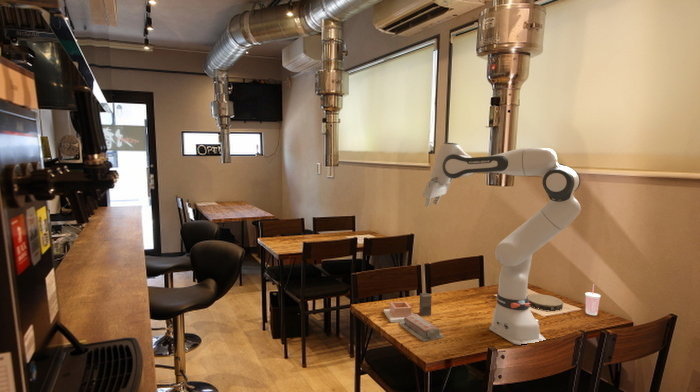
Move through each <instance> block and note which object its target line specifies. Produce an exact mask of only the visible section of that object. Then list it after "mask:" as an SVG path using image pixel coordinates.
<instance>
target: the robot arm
mask: <svg viewBox="0 0 700 392" xmlns="http://www.w3.org/2000/svg"><path fill="white" fill-rule="evenodd" d="M475 173H477V174H478V173H495V174H502V175H505V176H506V175H507V176H514V177H515V176H516V177H528V176H529V177H530V176H533V177H534V176H536V177H537V176H538V177H542V181H541V183H542V187H543V189H544V191H545V193H546V194H547V196H548V198H549V201H548V202H547V203H546V204H545V205H544V206H543V207H541V208H540V209H539V210H538V211H537V212H536V213H534V214H533V215H532V216H531V217H530V218H528V219H527V220H526V221H525V222H524V223H523V224H521V225H520V226H518V227H517V228H516V229H514V230H513V231H512V232H511V233H510V234H508V235H507V236H506V237H505V238H503V239H502V240H500V242H499V243H498V244H497V246H496V247H495V250H494V256H495V259H496V261H498V263H499V264H501V270H500V273H499V275H498V291H497V294H496V303H497V304H496V306H495V308H494V310H493V315H492V321H491V325H490V326H489V327H488V328H489V331H492V332H493V333H494V334H497V335H499V336H500V337H501V338H504V339H505V340H506V341H509V342H510V343H511V344H513V345H518V346H519V345H520V346H522V345H521V344H527V343H535V342H539V341H543V340H546V341H547V339H546V338H545V337H544V336H543V335H542V334H541V333H540V322H539V319H536V318H535V317H534V315H533V313H532V311H531V309H530V307H531V306H530V305H529V304H531V303H529V301H528V297H527V296H528V284H529V276H530V275H529V274H530V270H531V265H532V260H533V254H534V253H536V252H537V251H538V250H539V249H541V248H542V247H544V246H545V245H546V244H547V243H549V242H550V241H551V240H552V239H554V238H556V236H557V235H559V234H560V233H561V232H563V231H564V230H565V229H566V228H568V227H569V226H570V225H571V224H572V223H573V222H574V221H575V220H576V218H577V217H578V216H579V215H580V214H581V211H582V206H581V204H580V202H579V200H577V199H576V198H575V195H574V193H575V192H576V191H577V190H578V189H579V187H580V186H581V185H580V184H581V177H580V174H579V173H578V171H576V169H574V168H571V167H570V166H567V165H565V164H563V163H559V161H558V156H557V154H556V151H554V150H553V149H551V148H546V147H545V148H544V147H522V148H518V149H517V148H516V149H512V150H507V151H505V152H504V151H503V152H501V153H497V154H493V155H488V156H477V157H472V156H471V155H470V154H468V153H466V152H465V151H464V150H463V149H462V147H461V146H460V144H458V143H456V142H443V143H442V144H441V145H440V146H439V149H438V151H437V154H436V156H435V163H434V165H433V166H432V169H431V173H430V176H429V178H430V179H431V180H428V181H427V182H426V185H425V187H424V191H423V193H422V196H423V197H424V198H425V205H424V206H425V207H428V208H429V207H430V206H431V202H432V201H431V200H432V199H434V200H433V202H432V203H433V204H434V205H438V204H439V201H440V199H441V198H442V196H445V195H446V194H447V192H448V190H449V188H450V184H451V182H452V181H453V179H458V178H468V177H471V176H473V175H474V174H475Z"/></svg>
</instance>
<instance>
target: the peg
mask: <svg viewBox="0 0 700 392" xmlns="http://www.w3.org/2000/svg"><path fill="white" fill-rule="evenodd" d="M432 299H433V298H432V295H431V294H430V293H429V292H428V293H427V292H425V293H423V292H422V293H419V312H418V313H419V314H420V316H421V317H428V316H431V315H432Z"/></svg>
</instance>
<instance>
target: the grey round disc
mask: <svg viewBox="0 0 700 392" xmlns="http://www.w3.org/2000/svg"><path fill="white" fill-rule="evenodd" d="M527 297H528V301H529V303H531V304H529V305H530V306H529V307H531V306H533V307H535V308H534V309H536V308H539V309H538V310H540V309H543V310H542V311H545V310H549V311H548V312H556V311H555V310H559V311H561V310H562V309H563V305H564V303H563V300H562V299H560V298H558V297H556V296H552V295H548V294H540V293H531V294H527ZM533 307H532V308H533ZM560 309H561V310H560Z"/></svg>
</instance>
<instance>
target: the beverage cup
mask: <svg viewBox="0 0 700 392" xmlns="http://www.w3.org/2000/svg"><path fill="white" fill-rule="evenodd" d="M594 290H595V283H593V284H592V292H591V291H590V292H585V293H584V295H585V314H587V315H590V316H598V313H599V305H600V299H601V296H602V295H601V294H599V293H595V292H594Z"/></svg>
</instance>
